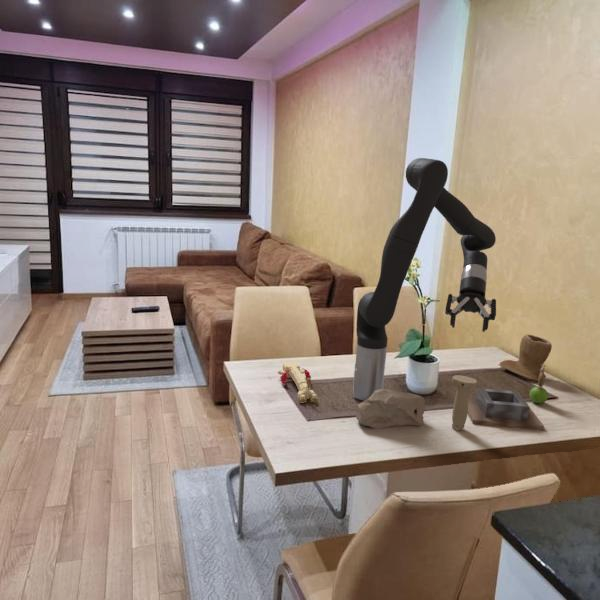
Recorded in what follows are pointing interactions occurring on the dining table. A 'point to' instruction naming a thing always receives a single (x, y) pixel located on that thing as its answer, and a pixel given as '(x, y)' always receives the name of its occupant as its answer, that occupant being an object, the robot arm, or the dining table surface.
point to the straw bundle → (299, 381)
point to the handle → (461, 400)
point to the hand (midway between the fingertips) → (468, 328)
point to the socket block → (502, 410)
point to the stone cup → (529, 357)
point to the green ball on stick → (539, 390)
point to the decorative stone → (391, 409)
